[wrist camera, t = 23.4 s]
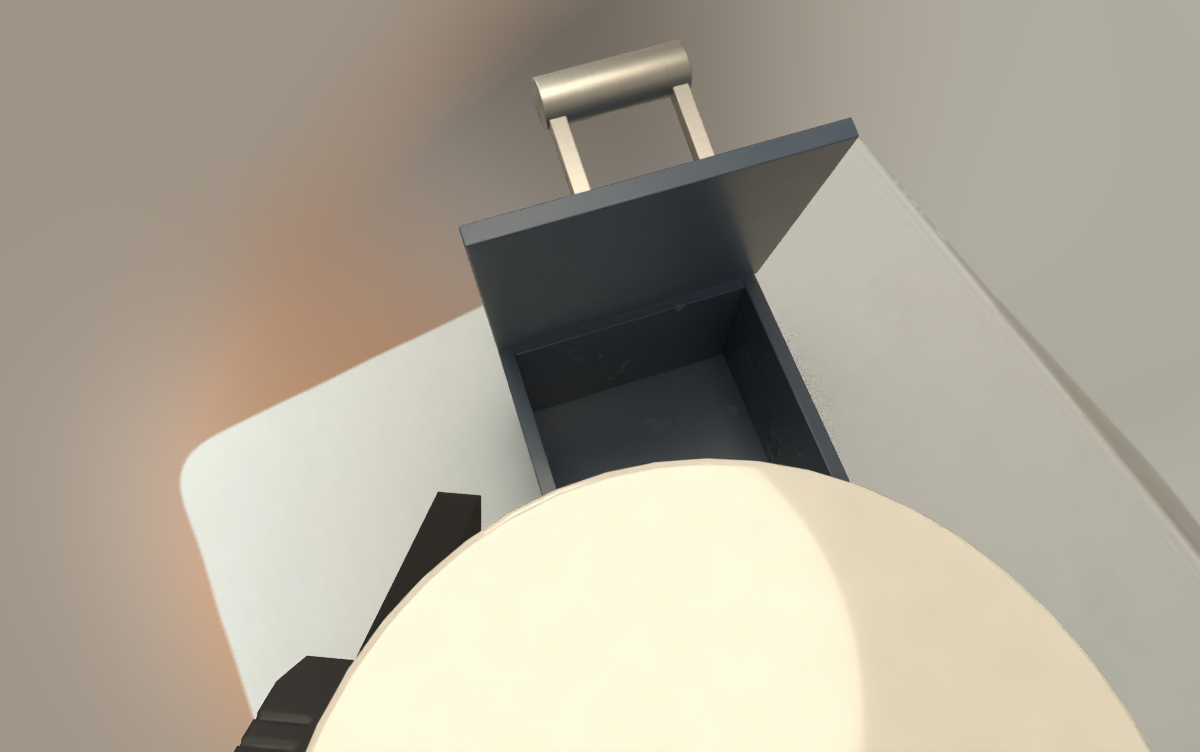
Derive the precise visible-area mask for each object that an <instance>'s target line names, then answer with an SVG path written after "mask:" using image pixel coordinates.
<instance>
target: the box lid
mask: <svg viewBox="0 0 1200 752" xmlns="http://www.w3.org/2000/svg"><path fill="white" fill-rule="evenodd" d="M531 85H532V91H533V97H534V101H535V105H536V109H537V113H538V116H539V119H540V122H541V124H542V126H543V128H544V129H545V130H550V133H551V136H552V139H553V142H554V145H555V147H556V150H557V153H558V156H559V159H560V162H561V165H562V168H563V171H564V174H565V177H566V180H567V183H568V186H569V189H570V192H571V196H567V197H563V198H559V199H556V200H552V201H549V202H545V203H541V204H538V205H534V206H531V207H528V208H523V209H520V210H517V211H513V212H509V213H506V214H502V215H498V216H495V217H492V218H488V219H484V220H481V221H477V222H473V223H470V224H466V225H462V226H460V227H459V230H460V234H461V237H462V240H463V243H464V247H465V250H466V253H467V256H468V259H469V262H470V265H471V268H472V272H473V275H474V278H475V281H476V284H477V287H478V290H479V293H480V296H481V299H482V303H483V306H484V309H485V312H486V315H487V318H488V321H489V324H490V328H491V331H492V334H493V337H494V340H495V343H496V346H497V349H498V350H500V349H503V348H506V347H510V346H513V345H517V344H520V343H523V342H527V341H530V340H533V339H537V338H540V337H543V336H547V335H550V334H553V333H557V332H560V331H564V330H567V329H570V328H574V327H577V326H580V325H584V324H587V323H590V322H594V321H597V320H601V319H604V318H607V317H611V316H614V315H617V314H621V313H624V312H627V311H631V310H634V309H637V308H641V307H644V306H648V305H651V304H654V303H658V302H661V301H664V300H668V299H671V298H674V297H678V296H681V295H684V294H688V293H691V292H695V291H698V290H701V289H705V288H708V287H711V286H715V285H718V284H721V283H725V282H728V281H731V280H735V279H738V278H742V277H745V276H748V275H752V274H755V273H757V272H758V271H759V269H760V268H761V267H762V265H763V264H764V263H765V261H766V260H767V258H768V257H769V256H770V254H771V253H772V252H773V250H774V249H775V248H776V246H777V245H778V244H779V242H780V241H781V240H782V238H783V237H784V236H785V234H786V233H787V232H788V230H789V229H790V228H791V226H792V225H793V224H794V222H795V221H796V220H797V218H798V217H799V216H800V214H801V213H802V212H803V210H804V209H805V208H806V206H807V205H808V204H809V202H810V201H811V200H812V198H813V197H814V196H815V194H816V193H817V192H818V190H819V189H820V188H821V186H822V185H823V183H824V182H825V181H826V179H827V178H828V177H829V175H830V174H831V173H832V171H833V170H834V169H835V167H836V166H837V165H838V163H839V162H840V161H841V159H842V158H843V157H844V155H845V154H846V153H847V151H848V150H849V149H850V147H851V146H852V145H853V143H854V142H855V141H856V139H857V138H858V136H859V135H858V132H857V130H856V127H855V125H854V123H853V120H852V118H847V119H843V120H840V121H837V122H833V123H829V124H825V125H822V126H818V127H815V128H811V129H808V130H804V131H801V132H797V133H793V134H789V135H786V136H782V137H779V138H775V139H772V140H768V141H764V142H761V143H757V144H754V145H750V146H746V147H743V148H739V149H736V150H732V151H728V152H725V153H721V154H718V155H715V152H714V150H713V147H712V144H711V142H710V139H709V136H708V134H707V131H706V128H705V126H704V123H703V120H702V118H701V115H700V113H699V110H698V107H697V104H696V102H695V99H694V96H693V94H692V91H691V85H692V70H691V64H690V60H689V56H688V53H687V51H686V48H685V47H684V45H683V43H682V42H681V41H679V40H676V41H673V42H668V43H664V44H660V45H657V46H653V47H649V48H645V49H641V50H638V51H634V52H630V53H626V54H622V55H618V56H614V57H610V58H606V59H603V60H599V61H595V62H591V63H587V64H583V65H580V66H576V67H572V68H568V69H564V70H560V71H556V72H552V73H549V74H545V75H541V76H537V77H533V78H532V81H531ZM670 97H671V100H672V103H673V106H674V108H675V111H676V114H677V116H678V119H679V122H680V124H681V127H682V130H683V133H684V135H685V138H686V141H687V143H688V146H689V149H690V152H691V154H692V157H693V160H694V161H692V162H689V163H685V164H682V165H678V166H674V167H671V168H667V169H664V170H660V171H656V172H653V173H649V174H646V175H642V176H638V177H635V178H631V179H628V180H624V181H620V182H617V183H613V184H610V185H606V186H603V187H599V188H596V189H591V187H590V184H589V181H588V178H587V175H586V172H585V169H584V166H583V163H582V160H581V158H580V154H579V151H578V149H577V146H576V143H575V140H574V137H573V134H572V131H571V128H570V125H569V124H573V123H576V122H580V121H584V120H588V119H592V118H595V117H599V116H603V115H606V114H610V113H614V112H618V111H621V110H625V109H629V108H633V107H636V106H640V105H643V104H648V103H651V102H655V101H659V100H663V99H666V98H670Z"/></svg>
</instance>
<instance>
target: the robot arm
mask: <svg viewBox="0 0 1200 752" xmlns="http://www.w3.org/2000/svg"><path fill="white" fill-rule="evenodd" d="M480 531H481V496H480V495H469V494H457V493H446V492H438V493H437V495H436V497H435V499H434V501H433V503H432V505H431V507H430V509H429V511H428V513H427V515H426V517H425V519H424V521H423V523H422V525H421V527H420V529H419V531H418V533H417V535H416V537H415V539H414V541H413V543H412V546H411V548H410V550H409V552H408V554H407V556H406V558H405V560H404V562H403V564H402V566H401V568H400V570H399V572H398V574H397V576H396V578H395V580H394V582H393V584H392V586H391V588H390V590H389V592H388V594H387V596H386V598H385V600H384V602H383V604H382V606H381V608H380V610H379V612H378V614H377V616H376V618H375V620H374V622H373V624H372V626H371V628H370V630H369V632H368V634H367V636H366V639H365V641H364V643H363V645H362V647H361V649H360V651H359V653H360V652H361V650H362V649H363V648H364V646H365V645H366V644H367V642H368V641H369V639H370V638H371V637H372V635H373V634H374V633H375V631H376V630H377V628H378V627H379V626H380V624H381V623H382V622H383V620H384V619H385V618H386V617H387V616H388V615H389V614H390V613H391V611H392V610H393V609H394V608H395V607H396V606H397V605H398V604H399V603H400V602H401V601H402V600H403V598H404V597H405V596H406V595H407V594H408V593H409V592H410V591H411V590H412V589H413V588H414V587H415V585H416V584H417V583H418V582H419V581H420V580H421V579H422V578H423V577H424V576H425V575H426V574H427V573H429V572H430V571H431V570H432V569H433V568H435V567H436V566H437V565H438V564H439V563H440V562H442V561H443V560H444V559H445V558H446V557H447V556H449V555H450V554H451V553H452V552H453V551H455V550H456V549H457V548H458V547H459V546H460V545H462V544H463V543H464V542H465V541H467V540H468V539H470V538H471V537H473V536H474V535H476V534H477V533H479V532H480ZM359 653H358V655H359ZM358 655H357V656H358ZM353 662H354V660H346V659H336V658H325V657H315V656H306V657H305V658H304V659H302V660H301V661H300V662H299V663H298V664H296V665H295V666H294V667H293V668H292V669H290V670H289V671H288V672H287V673H286V674H284V675H283V676H282V677H281V678H280V679H279V680H277V681H276V683H275V684H274V686H273V688H272V689H271V691H270V693H269V694H268V696H267V698H266V699H265V701H264V703H263V704H262V706H261V708H260V709H259V711H258V713H257V718H256V719H253V721H252V723H251V724H250V726H249V728H248V729H247V731H246V732H245V734H244V736H243V737H242V739H241V744H240V746H237V748H236V749H235V751H234V752H305V751H306V749H307V747H308V744H309V742H310V739H311V737H312V735H313V732H314V730H315V728H316V725H317V723H318V721H319V720H320V718H321V716H322V714H323V713H324V711H325V709H326V707H327V706H328V704H329V702H330V700H331V698H332V697H333V695H334V693H335V691H336V690H337V688H338V686H339V684H340V682H341V681H342V679H343V677H344V675H345V674H346V672H347V670H348V668H349V667H350V666H351V664H352V663H353Z"/></svg>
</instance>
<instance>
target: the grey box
mask: <svg viewBox="0 0 1200 752" xmlns="http://www.w3.org/2000/svg"><path fill="white" fill-rule="evenodd" d="M498 352H499V356H500V359H501V362H502V366H503V369H504V372H505V375H506V379H507V382H508V385H509V389H510V392H511V395H512V398H513V402H514V405H515V408H516V412H517V415H518V418H519V421H520V425H521V428H522V431H523V435H524V438H525V441H526V444H527V448H528V451H529V454H530V458H531V461H532V464H533V467H534V471H535V474H536V477H537V481H538V484H539V487H540V490H541V494H542V496H543V495H545V494H547V493H549V492H551V491H553V490H555V489H558V488H560V487H563V486H566V485H569V484H572V483H575V482H578V481H581V480H584V479H587V478H590V477H593V476H596V475H598V474H601V473H604V472H608V471H613V470H618V469H623V468H628V467H633V466H637V465H642V464H647V463H652V462H659V461H673V460H686V459H699V458H716V459H736V460H755V461H762V462H768V463H773V464H779V465H785V466H790V467H796V468H802V469H807V470H811V471H814V472H817V473H821V474H824V475H827V476H830V477H834V478H837V479H840V480H844V481H847V482H850V481H849V479H848V477H847V474H846V472H845V470H844V468H843V466H842V464H841V461H840V459H839V457H838V455H837V453H836V451H835V448H834V446H833V444H832V442H831V440H830V438H829V435H828V433H827V431H826V429H825V427H824V425H823V422H822V420H821V418H820V416H819V414H818V412H817V409H816V407H815V405H814V403H813V401H812V398H811V396H810V394H809V392H808V390H807V388H806V385H805V383H804V381H803V379H802V377H801V375H800V372H799V370H798V368H797V366H796V364H795V362H794V359H793V357H792V355H791V353H790V351H789V349H788V346H787V344H786V342H785V340H784V338H783V336H782V333H781V331H780V329H779V327H778V325H777V323H776V320H775V318H774V316H773V314H772V312H771V309H770V307H769V305H768V303H767V301H766V299H765V296H764V294H763V292H762V290H761V288H760V286H759V283H758V281H757V279H756V277H755V275H754V274H752V275H748V276H745V277H742V278H738V279H735V280H731V281H728V282H725V283H721V284H718V285H715V286H711V287H708V288H705V289H701V290H698V291H695V292H691V293H688V294H684V295H681V296H678V297H674V298H671V299H668V300H664V301H661V302H658V303H654V304H651V305H648V306H644V307H641V308H637V309H634V310H631V311H627V312H624V313H621V314H617V315H614V316H611V317H607V318H604V319H601V320H597V321H594V322H590V323H587V324H584V325H580V326H577V327H574V328H570V329H567V330H564V331H560V332H557V333H553V334H550V335H547V336H543V337H540V338H537V339H533V340H530V341H527V342H523V343H520V344H517V345H513V346H510V347H506V348H503V349H500V350H498Z"/></svg>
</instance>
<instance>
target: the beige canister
mask: <svg viewBox="0 0 1200 752" xmlns="http://www.w3.org/2000/svg"><path fill="white" fill-rule="evenodd" d="M305 752H1151V751H1150V749H1149V747H1148V746H1147V744H1146V742H1145V740H1144V738H1143V737H1142V735H1141V733H1140V731H1139V729H1138V728H1137V726H1136V724H1135V722H1134V720H1133V719H1132V717H1131V715H1130V714H1129V713H1128V711H1127V710H1126V708H1125V707H1124V705H1123V704H1122V703H1121V701H1120V700H1119V698H1118V697H1117V695H1116V694H1115V693H1114V691H1113V690H1112V688H1111V687H1110V686H1109V684H1108V683H1107V681H1106V680H1105V678H1104V677H1103V676H1102V674H1101V673H1100V671H1099V670H1098V668H1097V667H1096V666H1095V664H1094V663H1093V661H1092V660H1091V659H1090V658H1089V657H1088V656H1087V655H1086V653H1085V652H1084V651H1083V650H1082V649H1081V648H1080V646H1079V645H1078V644H1077V643H1076V642H1075V641H1074V640H1073V638H1072V637H1071V636H1070V635H1069V634H1068V633H1067V631H1066V630H1065V629H1064V628H1063V627H1062V626H1061V625H1060V623H1059V622H1058V621H1057V620H1056V619H1055V618H1054V617H1053V615H1052V614H1051V613H1050V612H1049V611H1048V610H1047V609H1045V608H1044V607H1043V606H1042V605H1041V604H1040V603H1039V602H1038V601H1037V600H1036V599H1035V598H1034V597H1033V596H1031V595H1030V594H1029V593H1028V592H1027V591H1026V590H1025V589H1024V588H1023V587H1022V586H1021V585H1020V584H1019V583H1018V582H1016V581H1015V580H1014V579H1013V578H1012V577H1011V576H1010V575H1009V574H1008V573H1007V572H1006V571H1004V570H1003V569H1002V568H1000V567H999V566H998V565H996V564H995V563H994V562H992V561H991V560H990V559H988V558H987V557H986V556H984V555H983V554H981V553H980V552H979V551H977V550H976V549H975V548H973V547H972V546H971V545H969V544H968V543H967V542H965V541H964V540H963V539H961V538H960V537H959V536H957V535H955V534H954V533H952V532H950V531H949V530H947V529H945V528H943V527H942V526H940V525H938V524H937V523H935V522H933V521H931V520H930V519H928V518H926V517H925V516H923V515H921V514H920V513H918V512H916V511H914V510H913V509H911V508H909V507H907V506H905V505H903V504H900V503H898V502H896V501H894V500H891V499H889V498H887V497H885V496H882V495H880V494H878V493H875V492H873V491H871V490H869V489H866V488H864V487H862V486H860V485H857V484H853V483H850V482H847V481H844V480H840V479H837V478H834V477H830V476H827V475H824V474H821V473H817V472H814V471H811V470H807V469H802V468H796V467H790V466H785V465H779V464H773V463H768V462H762V461H755V460H736V459H716V458H699V459H686V460H673V461H659V462H652V463H647V464H642V465H637V466H633V467H628V468H623V469H618V470H613V471H608V472H604V473H601V474H598V475H596V476H593V477H590V478H587V479H584V480H581V481H578V482H575V483H572V484H569V485H566V486H563V487H560V488H558V489H555V490H553V491H551V492H549V493H547V494H545V495H543V496H541V497H539V498H537V499H535V500H533V501H531V502H529V503H527V504H525V505H523V506H521V507H519V508H517V509H515V510H513V511H511V512H509V513H508V514H506V515H504V516H503V517H501V518H500V519H498V520H497V521H495V522H494V523H492V524H491V525H489V526H488V527H486V528H485V529H483V530H482V531H480V532H479V533H477V534H476V535H474V536H473V537H471V538H470V539H468V540H467V541H465V542H464V543H463V544H462V545H460V546H459V547H458V548H457V549H456V550H455V551H453V552H452V553H451V554H450V555H449V556H447V557H446V558H445V559H444V560H443V561H442V562H440V563H439V564H438V565H437V566H436V567H435V568H433V569H432V570H431V571H430V572H429V573H427V574H426V575H425V576H424V577H423V578H422V579H421V580H420V581H419V582H418V583H417V584H416V585H415V587H414V588H413V589H412V590H411V591H410V592H409V593H408V594H407V595H406V596H405V597H404V598H403V600H402V601H401V602H400V603H399V604H398V605H397V606H396V607H395V608H394V609H393V610H392V611H391V613H390V614H389V615H388V616H387V617H386V618H385V619H384V620H383V622H382V623H381V624H380V626H379V627H378V628H377V630H376V631H375V633H374V634H373V635H372V637H371V638H370V639H369V641H368V642H367V644H366V645H365V646H364V648H363V649H362V650H361V652H360V653H359V655H358V656H357V657H356V659H355V660H354V662H353V663H352V664H351V666H350V667H349V668H348V670H347V672H346V674H345V675H344V677H343V679H342V681H341V682H340V684H339V686H338V688H337V690H336V691H335V693H334V695H333V697H332V698H331V700H330V702H329V704H328V706H327V707H326V709H325V711H324V713H323V714H322V716H321V718H320V720H319V721H318V723H317V725H316V728H315V730H314V732H313V735H312V737H311V739H310V742H309V744H308V747H307V749H306V751H305Z"/></svg>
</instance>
